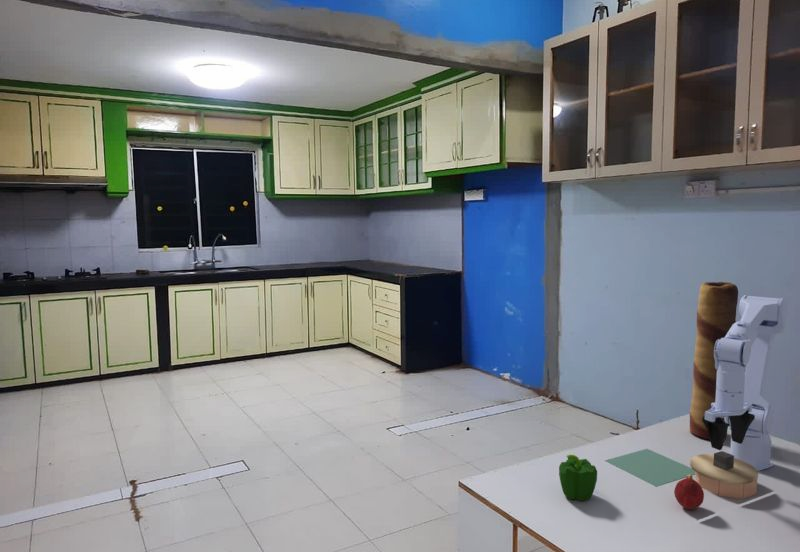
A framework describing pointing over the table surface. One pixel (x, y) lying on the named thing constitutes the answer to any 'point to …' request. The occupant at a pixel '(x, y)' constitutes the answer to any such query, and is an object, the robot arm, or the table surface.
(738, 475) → the lid
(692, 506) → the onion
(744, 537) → the table surface
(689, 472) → the mat
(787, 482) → the table surface
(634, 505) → the table surface
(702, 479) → the bowl
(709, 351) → the wafer roll
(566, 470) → the bell pepper
